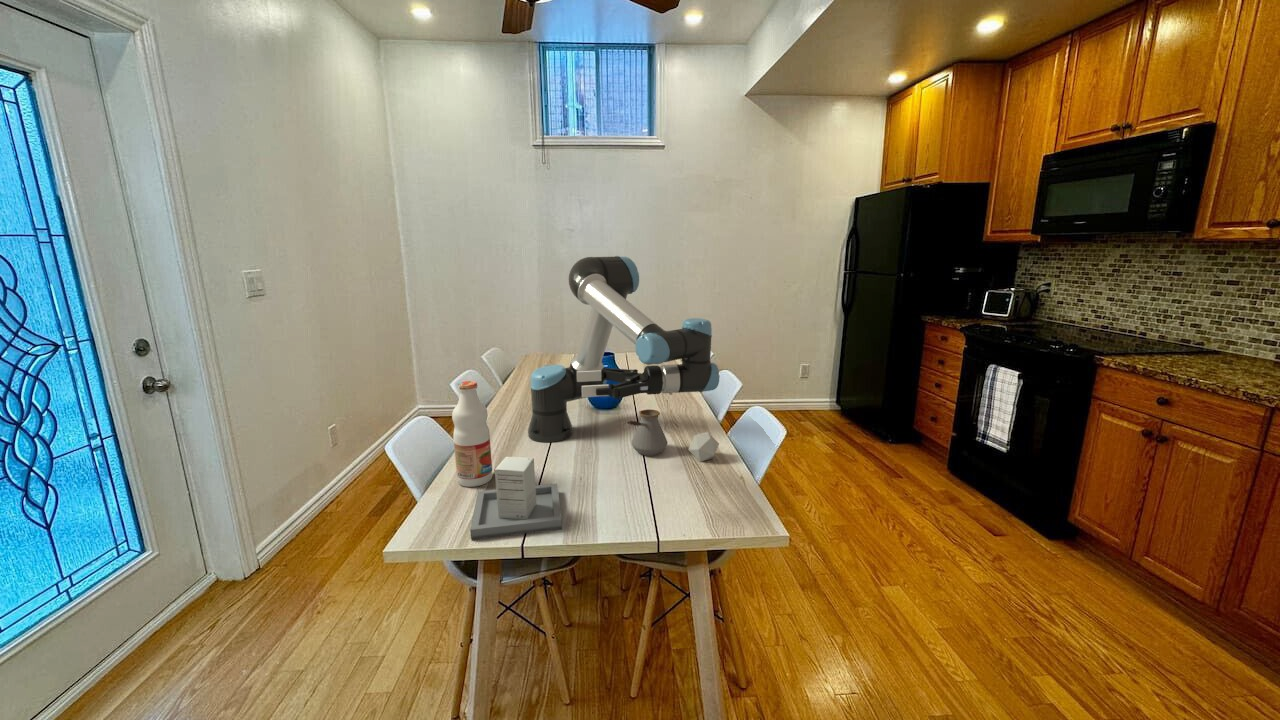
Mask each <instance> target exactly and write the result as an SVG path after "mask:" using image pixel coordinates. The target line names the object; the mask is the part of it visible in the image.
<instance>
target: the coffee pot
mask: <svg viewBox="0 0 1280 720" xmlns="http://www.w3.org/2000/svg"><path fill="white" fill-rule="evenodd" d="M638 414H639V416H640V418H641V419H640V421H636V420H627V421H625V422H624V423H623V427H624V428H626V429H627V427H626V426H625V424H626V423H627V424H629V425H630V426H629V427H628V429H630V428H631V427H632V425H633V426H637V428H636V430H635V433H634V435H633V436H632V439H631V442H630V443H631V446H632V449H634V451H636V452H637V453H638V454H639V455H642V456H646V457H651V456H658V455H660V454H662V452H664V450H665V449H666V448H667V446H668V439H667V437H666V435H665V432H664V431H663V428H662V426H661V423H660V421H659V419H658V418H659V416H660V415H661V413H660V411H659V410H656V409H650V408H649V409H643V410H640V411H639V413H638Z"/></svg>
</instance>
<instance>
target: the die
mask: <svg viewBox="0 0 1280 720" xmlns="http://www.w3.org/2000/svg"><path fill="white" fill-rule="evenodd" d="M719 445H720V443H719V442H718V440H716V439H715V437H714V436H712V435H711V434H710V432H708V431H705V432H701V433H697V434H694V435H693V438H692V441H691V443H690V445H689V447H688V451H689V452H690V453H691V454H692V455H693V456H694V457H695V458H696V459H697V460H698V461H699V462H700V463H701V461H702V462H704V461H708V460H711V459H714V457H715V454H716V452H717V450H718V447H719Z"/></svg>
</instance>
